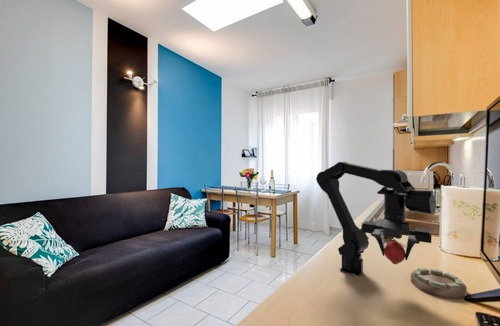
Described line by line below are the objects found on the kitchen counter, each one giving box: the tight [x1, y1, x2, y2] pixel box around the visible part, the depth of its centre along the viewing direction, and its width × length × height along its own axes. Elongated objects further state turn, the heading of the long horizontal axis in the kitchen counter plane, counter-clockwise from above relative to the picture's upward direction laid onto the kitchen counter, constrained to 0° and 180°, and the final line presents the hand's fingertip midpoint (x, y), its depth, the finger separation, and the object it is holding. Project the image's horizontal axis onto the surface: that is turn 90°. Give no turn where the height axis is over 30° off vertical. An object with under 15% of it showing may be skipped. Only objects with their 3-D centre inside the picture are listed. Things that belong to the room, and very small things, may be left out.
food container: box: [372, 216, 394, 239], centre depth 125 cm, size 12×6×10 cm, turn 17°
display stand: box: [410, 267, 468, 300], centre depth 75 cm, size 14×14×3 cm
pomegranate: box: [384, 238, 406, 265], centre depth 75 cm, size 6×6×8 cm
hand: (394, 257), depth 75 cm, fingers closed on pomegranate, 6 cm apart
